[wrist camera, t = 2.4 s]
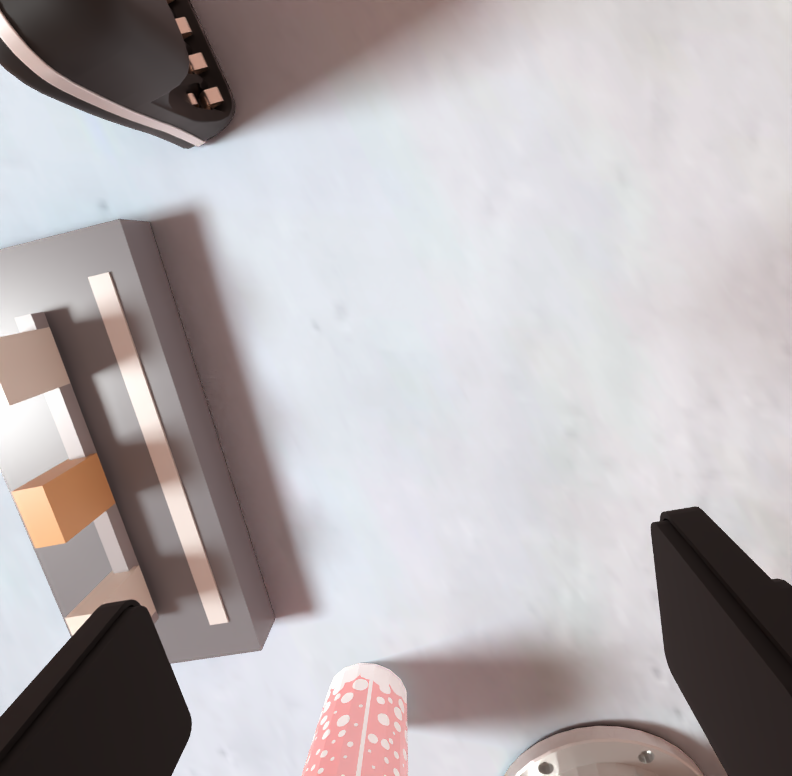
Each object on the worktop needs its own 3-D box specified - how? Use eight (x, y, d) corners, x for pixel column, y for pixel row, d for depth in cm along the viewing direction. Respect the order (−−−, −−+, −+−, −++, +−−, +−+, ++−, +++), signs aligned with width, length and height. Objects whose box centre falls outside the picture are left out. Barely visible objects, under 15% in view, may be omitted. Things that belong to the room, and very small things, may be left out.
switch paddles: (49, 310, 24) (-25, 322, 20) (164, 617, 27) (120, 677, 24) (21, 316, 24) (-58, 330, 20) (139, 621, 28) (91, 681, 24)
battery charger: (263, 120, 24) (117, 10, 13) (190, 158, 24) (-10, 83, 13) (188, -46, 22) (-49, -332, 11) (112, -2, 23) (-182, -232, 12)
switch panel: (149, 221, 25) (118, 218, 23) (275, 618, 30) (261, 651, 28) (-38, 268, 26) (-87, 270, 24) (114, 643, 32) (86, 677, 29)
